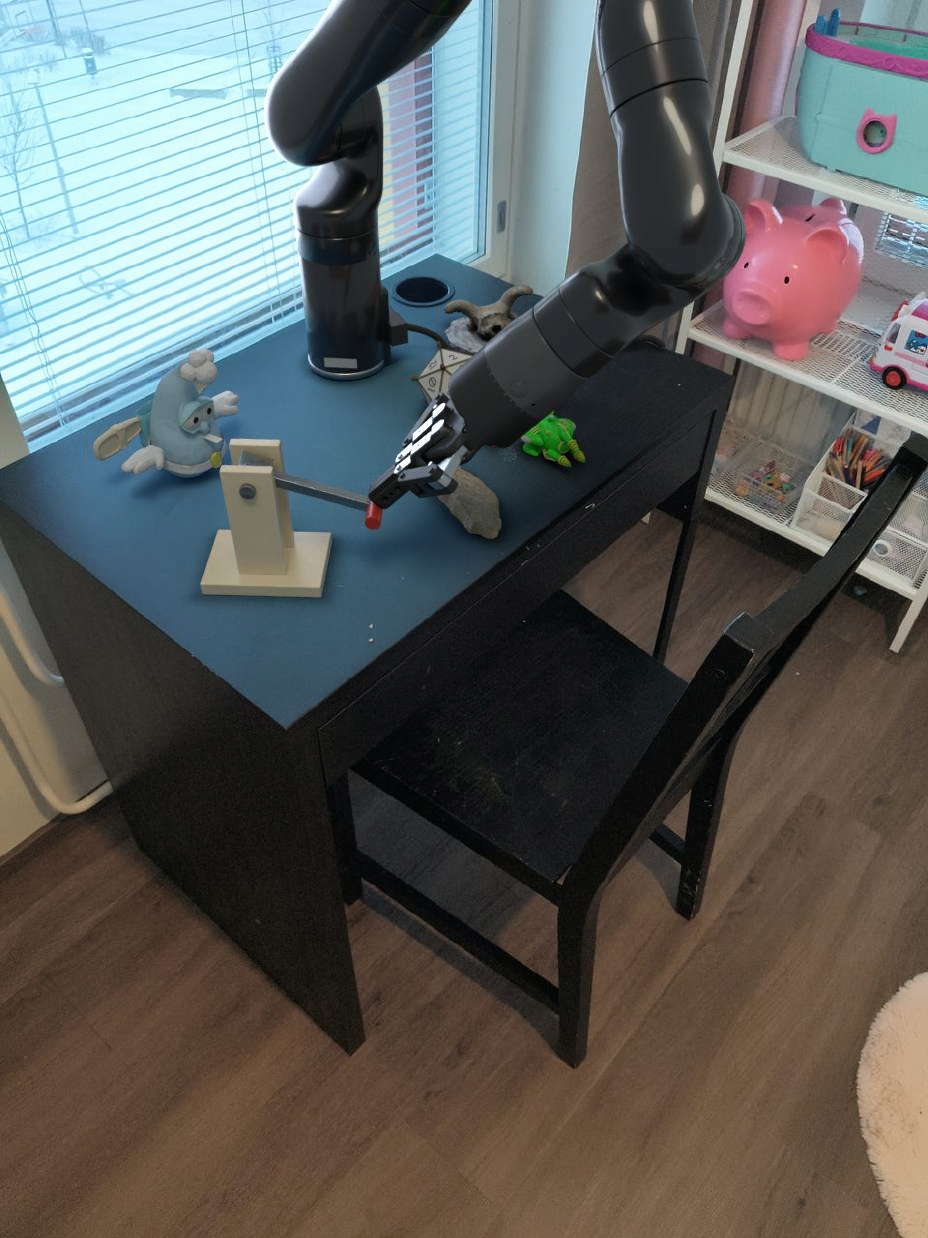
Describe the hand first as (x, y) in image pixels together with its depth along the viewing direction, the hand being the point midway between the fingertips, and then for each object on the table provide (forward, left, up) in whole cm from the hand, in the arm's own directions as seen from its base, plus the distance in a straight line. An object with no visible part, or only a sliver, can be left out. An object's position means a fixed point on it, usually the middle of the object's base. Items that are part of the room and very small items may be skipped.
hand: (376, 498), depth 88 cm
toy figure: (+11, -24, -9) cm, 28 cm away
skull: (-31, -34, -9) cm, 47 cm away
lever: (+5, -3, 0) cm, 6 cm away
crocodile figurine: (-25, -13, -9) cm, 30 cm away
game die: (-19, -21, -9) cm, 29 cm away
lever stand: (+9, -5, -9) cm, 14 cm away
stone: (-10, -6, -7) cm, 14 cm away
